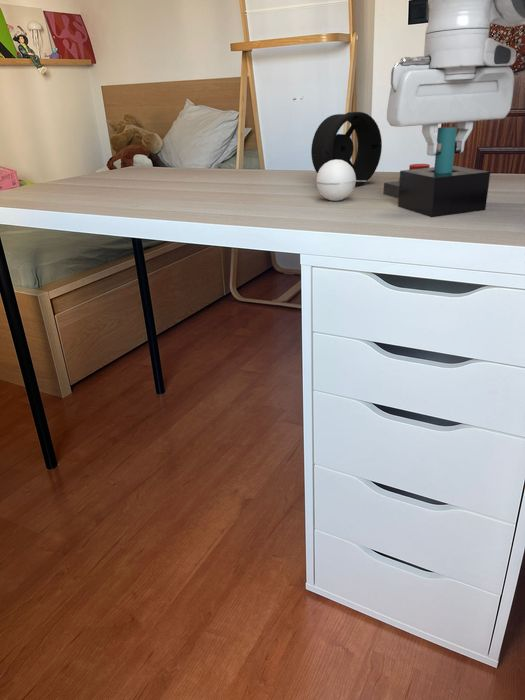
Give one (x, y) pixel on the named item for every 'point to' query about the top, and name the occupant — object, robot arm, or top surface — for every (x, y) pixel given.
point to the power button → (418, 166)
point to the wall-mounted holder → (348, 144)
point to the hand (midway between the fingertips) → (445, 154)
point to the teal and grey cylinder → (445, 150)
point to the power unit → (391, 189)
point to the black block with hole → (443, 191)
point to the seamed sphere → (336, 180)
